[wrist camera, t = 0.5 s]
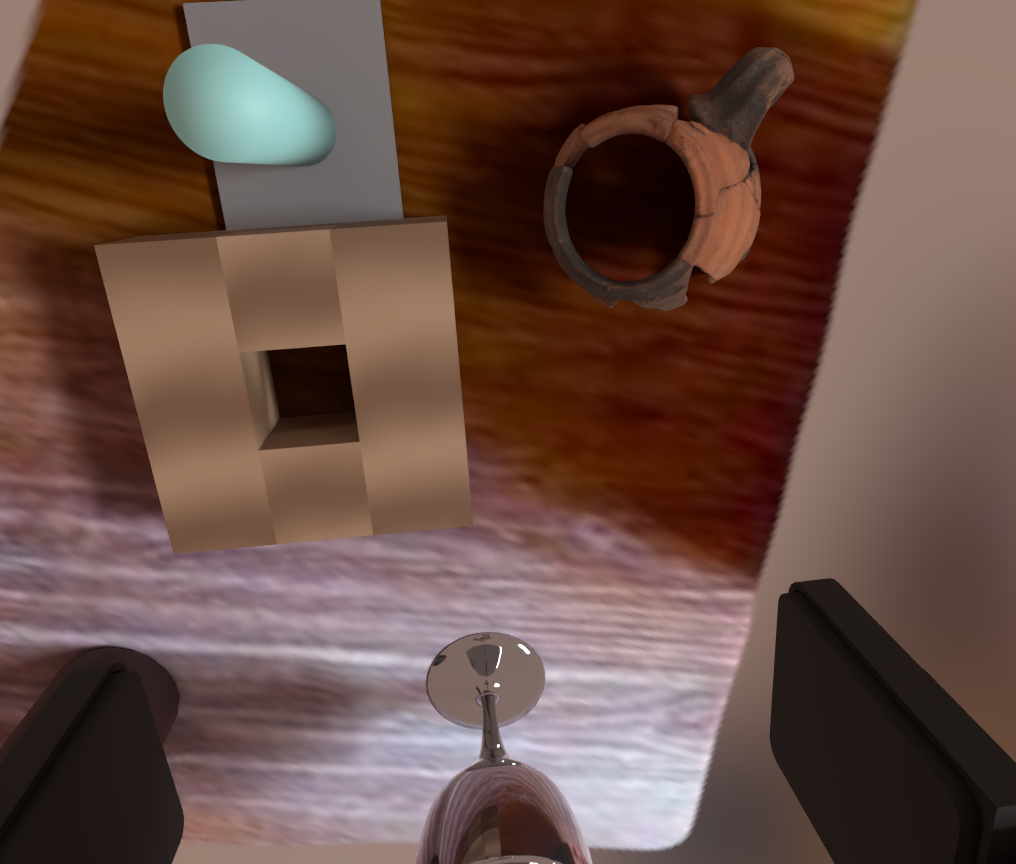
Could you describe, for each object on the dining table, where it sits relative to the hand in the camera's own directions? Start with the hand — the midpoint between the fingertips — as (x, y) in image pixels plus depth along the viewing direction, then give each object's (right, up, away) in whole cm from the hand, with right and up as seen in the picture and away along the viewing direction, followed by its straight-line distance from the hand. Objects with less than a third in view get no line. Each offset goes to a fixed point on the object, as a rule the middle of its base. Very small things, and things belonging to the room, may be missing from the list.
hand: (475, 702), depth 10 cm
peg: (-9, +17, +21) cm, 28 cm away
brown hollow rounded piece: (+8, +16, +23) cm, 29 cm away
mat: (-9, +17, +21) cm, 28 cm away
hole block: (-9, +7, +25) cm, 27 cm away
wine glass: (-1, -11, +32) cm, 34 cm away
